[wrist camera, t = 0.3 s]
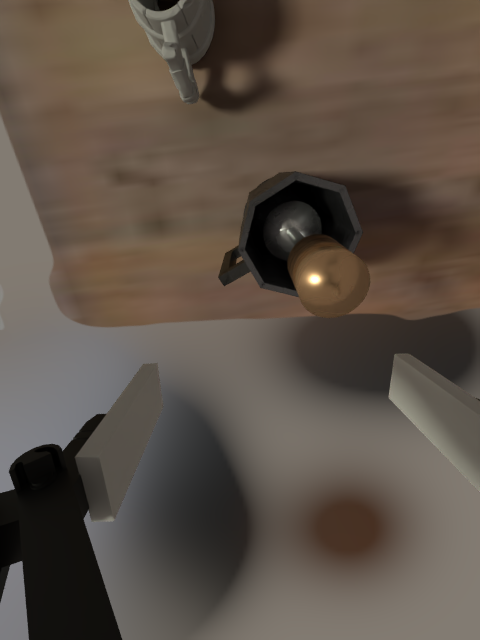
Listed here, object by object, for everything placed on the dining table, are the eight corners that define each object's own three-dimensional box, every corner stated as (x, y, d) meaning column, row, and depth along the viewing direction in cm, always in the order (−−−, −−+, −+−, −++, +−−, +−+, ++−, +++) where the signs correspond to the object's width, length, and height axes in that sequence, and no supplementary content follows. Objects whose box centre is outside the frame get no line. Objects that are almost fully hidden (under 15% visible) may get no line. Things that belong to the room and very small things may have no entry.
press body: (300, 157, 36) (331, 146, 22) (333, 232, 40) (375, 261, 27) (208, 218, 39) (188, 239, 26) (247, 280, 44) (246, 326, 31)
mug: (208, -37, 28) (183, -166, 17) (228, 106, 33) (219, 74, 23) (137, -19, 29) (72, -132, 18) (168, 118, 34) (132, 93, 23)
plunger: (305, 188, 29) (370, 203, 13) (328, 241, 31) (406, 305, 16) (252, 220, 30) (257, 267, 15) (279, 268, 33) (305, 350, 18)
